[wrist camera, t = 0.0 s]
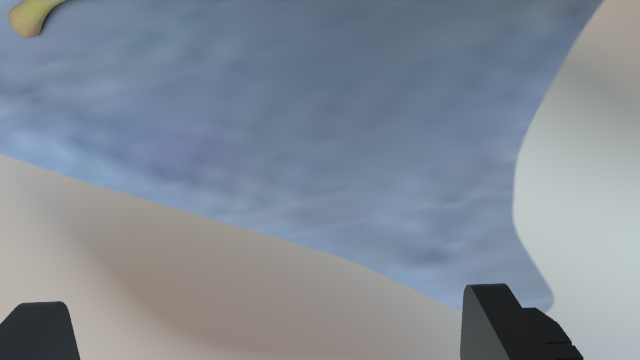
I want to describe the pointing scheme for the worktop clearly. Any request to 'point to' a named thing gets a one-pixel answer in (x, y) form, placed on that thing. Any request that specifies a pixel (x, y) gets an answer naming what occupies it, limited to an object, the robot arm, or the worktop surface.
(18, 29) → the banana
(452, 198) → the worktop surface
